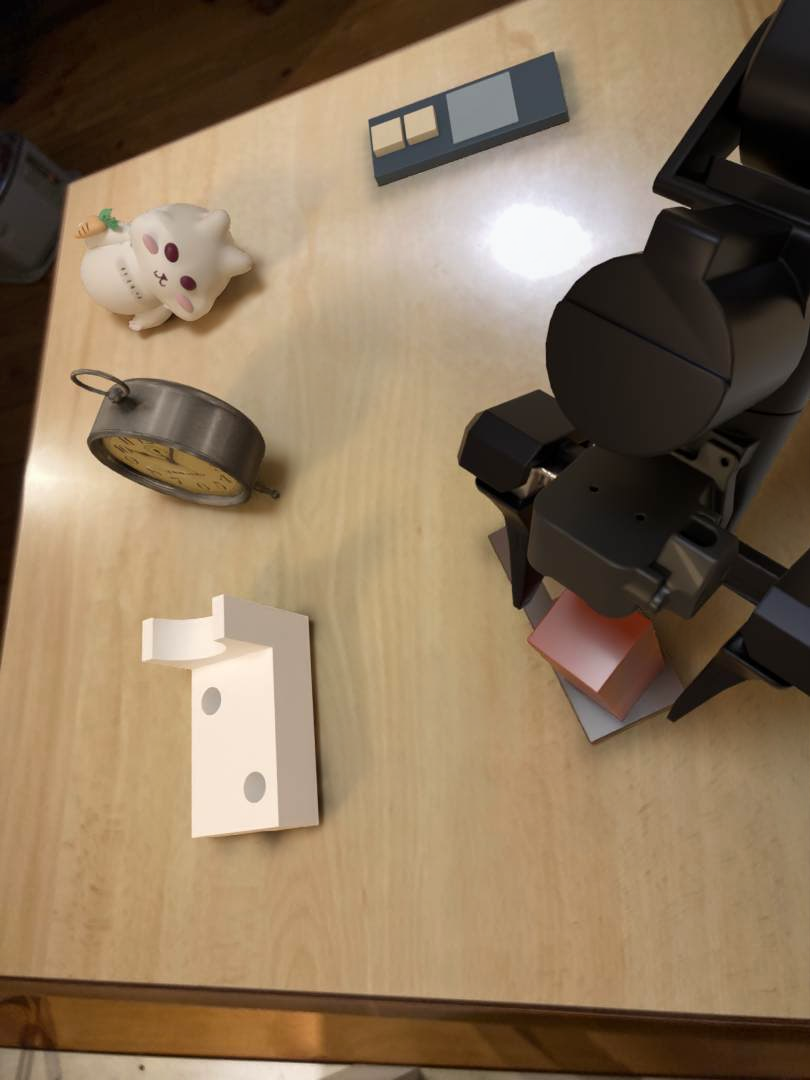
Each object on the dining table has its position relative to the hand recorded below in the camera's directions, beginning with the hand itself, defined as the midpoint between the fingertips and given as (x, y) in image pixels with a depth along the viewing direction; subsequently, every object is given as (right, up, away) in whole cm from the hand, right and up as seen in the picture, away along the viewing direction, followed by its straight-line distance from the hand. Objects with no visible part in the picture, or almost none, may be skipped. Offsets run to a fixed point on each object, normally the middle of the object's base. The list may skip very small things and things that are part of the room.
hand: (593, 658), depth 41 cm
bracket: (-19, -6, +13) cm, 24 cm away
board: (+1, +1, +8) cm, 9 cm away
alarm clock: (-22, +10, +20) cm, 32 cm away
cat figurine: (-27, +26, +27) cm, 47 cm away
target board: (-5, +38, +23) cm, 45 cm away
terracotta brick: (+2, -2, +6) cm, 6 cm away
